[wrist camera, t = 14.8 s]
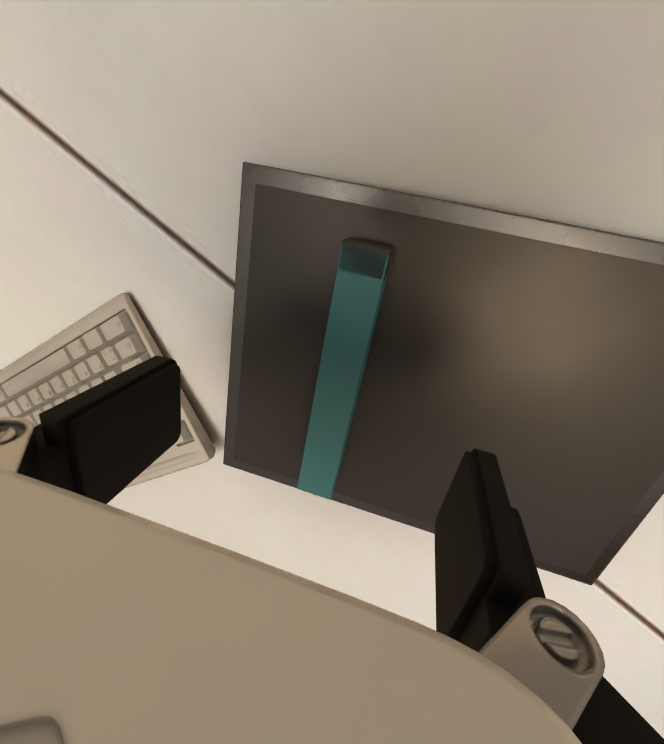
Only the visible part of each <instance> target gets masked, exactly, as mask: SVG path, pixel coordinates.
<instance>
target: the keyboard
mask: <svg viewBox="0 0 664 744" xmlns="http://www.w3.org/2000/svg"><path fill="white" fill-rule="evenodd" d="M157 355H158V356H162V357H163V355H162V353H161V352H160V350H159V348H158V346H157V345H156V343H155V341H154V339H153V337H152V336H151V334H150V332H149V330H148V329H147V327H146V325H145V323H144V321H143V320H142V318H141V316H140V314H139V313H138V311H137V309H136V307H135V306H134V304H133V302H132V300H131V298H130V296H129V295H128V294H126V293H122V294H120V295H118V296H117V297H115V298H114V299H112V300H111V301H109V302H108V303H106V304H104V305H103V306H101V307H100V308H98V309H97V310H95V311H93V312H92V313H90V314H89V315H87V316H86V317H84V318H83V319H81V320H79V321H78V322H76V323H75V324H73V325H72V326H70V327H68V328H67V329H65V330H64V331H62V332H61V333H59V334H58V335H56V336H54V337H53V338H51V339H50V340H48V341H47V342H45V343H44V344H42V345H40V346H39V347H37V348H36V349H34V350H33V351H31V352H29V353H28V354H26V355H25V356H23V357H22V358H20V359H19V360H17V361H15V362H14V363H12V364H11V365H9V366H8V367H6V368H4V369H3V370H1V371H0V417H14V416H15V417H22V418H25V419H28V420H30V421H31V422H32V423H33V425H34V427H35V426H37V425H39V424H41V423H40V418H39V414H40V413H42V412H44V411H46V410H48V409H50V408H52V407H54V406H56V405H58V404H60V403H62V402H64V401H66V400H68V399H70V398H72V397H74V396H76V395H78V394H80V393H82V392H84V391H86V390H88V389H90V388H92V387H94V386H96V385H98V384H100V383H102V382H104V381H106V380H108V379H110V378H112V377H114V376H116V375H118V374H120V373H122V372H124V371H126V370H128V369H130V368H132V367H134V366H136V365H138V364H140V363H142V362H144V361H146V360H148V359H150V358H152V357H154V356H157ZM214 454H215V448H214V446H213V444H212V442H211V440H210V439H209V437H208V435H207V433H206V432H205V430H204V428H203V426H202V424H201V423H200V421H199V419H198V417H197V416H196V414H195V412H194V410H193V408H192V407H191V405H190V403H189V401H188V400H187V398H186V396H185V394H184V392H183V391H182V389H181V435H180V437H179V439H178V441H177V442H176V443H175V444H174V445H173V446H172V447H170V448H169V449H168V450H167V451H166V452H165V453H164V454H162V455H161V456H160V457H159V458H158V459H157V460H156V461H155V462H153V463H152V464H151V465H150V466H149V467H148V468H147V469H146V470H144V471H143V472H142V473H141V474H140V475H139V476H138V477H136V478H135V479H134V480H133V481H132V482H131V483H130V484H129V485H127V486H126V487H130V486H133V485H136V484H139V483H142V482H145V481H148V480H151V479H154V478H158V477H161V476H164V475H167V474H170V473H173V472H176V471H179V470H183V469H186V468H189V467H192V466H195V465H198V464H201V463H204V462H207V461H209V460H210V459H211V458H212V457H214ZM126 487H125V488H126Z"/></svg>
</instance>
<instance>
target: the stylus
mask: <svg viewBox="0 0 664 744" xmlns="http://www.w3.org/2000/svg"><path fill="white" fill-rule="evenodd" d="M394 249H395V247H394V246H391V245H386V244H382V243H377V242H372V241H368V240H363V239H358V238H354V237H353V238H347V239H343V240H342V245H341V250H340V256H339V261H338V267H337V274H336V279H335V285H334V290H333V296H332V301H331V306H330V312H329V317H328V323H327V328H326V334H325V339H324V345H323V350H322V355H321V361H320V366H319V372H318V377H317V383H316V388H315V394H314V399H313V404H312V410H311V415H310V421H309V426H308V432H307V437H306V443H305V448H304V453H303V459H302V464H301V470H300V475H299V481H298V486H297V489H300V490H303V491H306V492H309V493H312V494H313V495H316V496H321V497H324V498H327V499H331V497H332V494H333V491H334V488H335V485H336V482H337V479H338V476H339V472H340V468H341V464H342V460H343V456H344V452H345V447H346V443H347V439H348V435H349V431H350V427H351V423H352V419H353V415H354V411H355V407H356V403H357V398H358V394H359V390H360V386H361V382H362V378H363V374H364V370H365V366H366V362H367V358H368V354H369V350H370V345H371V341H372V337H373V333H374V329H375V325H376V321H377V317H378V313H379V309H380V305H381V301H382V296H383V292H384V288H385V284H386V280H387V276H388V274H389V270H390V266H391V262H392V258H393V253H394Z"/></svg>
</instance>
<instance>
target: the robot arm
mask: <svg viewBox="0 0 664 744" xmlns="http://www.w3.org/2000/svg"><path fill="white" fill-rule="evenodd" d="M39 418H40V423H41V424H39V425H37V426H35V427H34V425H33V423H32V422H31V421H30V420H28V419H25V418H22V417H15V416H14V417H0V744H664V739H663V738H662V737H661V736H660V735H659V734H658V733H657V732H656V731H655V730H654V728H653V727H652V726H651V725H650V724H649V723H648V722H647V721H646V720H645V719H644V718H643V717H642V716H641V715H640V714H639V713H638V712H637V711H636V710H635V709H634V708H633V707H632V706H631V705H630V704H629V703H628V702H627V701H626V700H625V699H624V698H623V697H622V696H621V695H620V693H619V692H618V691H617V690H616V689H615V688H614V687H613V686H612V685H611V684H610V683H609V682H608V681H607V680H606V679H605V678H604V677H603V673H604V668H605V662H604V657H603V652H602V650H601V648H600V646H599V644H598V642H597V640H596V638H595V637H594V635H593V634H592V633H591V631H590V630H589V628H588V627H587V626H586V625H585V624H584V623H583V622H582V621H581V620H580V619H579V618H578V617H577V616H576V615H575V614H574V613H572V612H571V611H570V610H568V609H567V608H566V607H564V606H563V605H561V604H559V603H557V602H555V601H553V600H550V599H546V597H545V594H544V591H543V588H542V584H541V581H540V578H539V575H538V571H537V568H536V565H535V562H534V558H533V555H532V552H531V549H530V545H529V542H528V539H527V536H526V532H525V529H524V526H523V523H522V519H521V516H520V514H519V511H518V510H517V509H516V508H514V507H511V506H510V502H509V499H508V495H507V492H506V488H505V485H504V481H503V478H502V474H501V471H500V467H499V464H498V460H497V457H496V455H495V454H493V453H490V452H486V451H483V450H480V449H476V448H475V449H473V450H472V452H469V451H466V452H465V453H464V455H463V457H462V460H461V462H460V464H459V466H458V469H457V471H456V473H455V476H454V478H453V480H452V482H451V485H450V487H449V489H448V492H447V494H446V496H445V498H444V501H443V503H442V505H441V508H440V510H439V512H438V514H437V517H436V521H435V576H436V630H437V631H435V630H433V629H430V628H428V627H426V626H424V625H422V624H419V623H417V622H415V621H412V620H410V619H407V618H405V617H402V616H400V615H397V614H395V613H392V612H390V611H387V610H385V609H382V608H380V607H377V606H375V605H372V604H370V603H367V602H365V601H362V600H360V599H357V598H355V597H352V596H350V595H347V594H344V593H342V592H339V591H337V590H334V589H331V588H329V587H326V586H323V585H321V584H318V583H315V582H313V581H310V580H308V579H305V578H302V577H300V576H297V575H294V574H292V573H289V572H287V571H284V570H281V569H279V568H276V567H273V566H271V565H268V564H266V563H263V562H260V561H258V560H255V559H252V558H250V557H247V556H244V555H242V554H239V553H236V552H234V551H231V550H228V549H226V548H223V547H220V546H218V545H215V544H212V543H210V542H207V541H204V540H202V539H199V538H196V537H194V536H191V535H188V534H185V533H183V532H180V531H177V530H175V529H172V528H169V527H167V526H164V525H161V524H159V523H156V522H153V521H151V520H148V519H145V518H142V517H140V516H137V515H134V514H131V513H129V512H126V511H123V510H120V509H118V508H115V507H112V506H110V505H107V503H108V502H109V501H110V500H112V499H113V498H114V497H115V496H116V495H117V494H118V493H120V492H121V491H122V490H123V489H124V488H125V487H126V486H127V485H129V484H130V483H131V482H132V481H133V480H134V479H135V478H136V477H138V476H139V475H140V474H141V473H142V472H143V471H144V470H146V469H147V468H148V467H149V466H150V465H151V464H152V463H153V462H155V461H156V460H157V459H158V458H159V457H160V456H161V455H162V454H164V453H165V452H166V451H167V450H168V449H169V448H170V447H172V446H173V445H174V444H175V443H176V442H177V441H178V439H179V437H180V435H181V380H180V367H179V366H178V365H177V363H176V361H175V360H172V359H169V358H166V357H162V356H158V355H157V356H154V357H152V358H150V359H148V360H146V361H144V362H142V363H140V364H138V365H136V366H134V367H132V368H130V369H128V370H126V371H124V372H122V373H120V374H118V375H116V376H114V377H112V378H110V379H108V380H106V381H104V382H102V383H100V384H98V385H96V386H94V387H92V388H90V389H88V390H86V391H84V392H82V393H80V394H78V395H76V396H74V397H72V398H70V399H68V400H66V401H64V402H62V403H60V404H58V405H56V406H54V407H52V408H50V409H48V410H46V411H44V412H42V413H40V414H39Z"/></svg>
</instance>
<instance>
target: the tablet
mask: <svg viewBox="0 0 664 744" xmlns="http://www.w3.org/2000/svg"><path fill="white" fill-rule="evenodd" d="M353 237H354V238H358V239H363V240H368V241H372V242H377V243H382V244H386V245H391V246H394V247H395V249H394V253H393V258H392V262H391V266H390V270H389V274H388V276H387V280H386V284H385V288H384V292H383V296H382V301H381V305H380V309H379V313H378V317H377V321H376V325H375V329H374V333H373V337H372V341H371V345H370V350H369V354H368V358H367V362H366V366H365V370H364V374H363V378H362V382H361V386H360V390H359V394H358V398H357V403H356V407H355V411H354V415H353V419H352V423H351V427H350V431H349V435H348V439H347V443H346V447H345V452H344V456H343V460H342V464H341V468H340V472H339V476H338V479H337V482H336V485H335V488H334V491H333V494H332V497H331V500H334V501H337V502H340V503H343V504H346V505H349V506H352V507H355V508H358V509H362V510H365V511H368V512H371V513H374V514H377V515H380V516H383V517H386V518H389V519H392V520H395V521H398V522H401V523H404V524H407V525H410V526H413V527H416V528H419V529H422V530H425V531H428V532H431V533H434V534H435V521H436V517H437V514H438V512H439V510H440V508H441V505H442V503H443V501H444V498H445V496H446V494H447V492H448V489H449V487H450V485H451V482H452V480H453V478H454V476H455V473H456V471H457V469H458V466H459V464H460V462H461V460H462V457H463V455H464V453H465V452H466V451H469V452H472V450H473V449H475V448H476V449H480V450H483V451H486V452H490V453H493V454H495V455H496V457H497V460H498V464H499V467H500V471H501V474H502V478H503V481H504V485H505V488H506V492H507V495H508V499H509V502H510V506H511V507H514V508H516V509H517V510H518V511H519V514H520V516H521V519H522V523H523V526H524V529H525V532H526V536H527V539H528V542H529V545H530V549H531V552H532V555H533V558H534V562H535V565H536V567H537V568H540V569H543V570H546V571H549V572H552V573H555V574H558V575H561V576H564V577H567V578H570V579H573V580H576V581H580V582H583V583H586V584H589V585H593V583H594V582H595V581H596V579H597V578H598V577H599V576H600V574H601V573H602V572H603V570H604V569H605V568H606V567H607V565H608V564H609V563H610V561H611V560H612V559H613V558H614V556H615V555H616V554H617V553H618V551H619V550H620V549H621V547H622V546H623V545H624V544H625V542H626V541H627V540H628V538H629V537H630V536H631V535H632V533H633V532H634V531H635V530H636V528H637V527H638V526H639V524H640V523H641V522H642V521H643V519H644V518H645V517H646V515H647V514H648V513H649V512H650V510H651V509H652V508H653V506H654V505H655V504H656V503H657V501H658V500H659V499H660V498H661V496H662V495H663V494H664V243H663V242H658V241H653V240H648V239H643V238H637V237H632V236H627V235H622V234H617V233H611V232H606V231H601V230H596V229H591V228H585V227H580V226H575V225H570V224H565V223H559V222H554V221H549V220H544V219H539V218H534V217H528V216H523V215H518V214H513V213H508V212H502V211H497V210H492V209H487V208H482V207H476V206H471V205H466V204H461V203H456V202H450V201H445V200H440V199H435V198H430V197H425V196H419V195H414V194H409V193H404V192H399V191H393V190H388V189H383V188H378V187H373V186H367V185H362V184H357V183H352V182H347V181H341V180H336V179H331V178H326V177H321V176H316V175H310V174H305V173H300V172H295V171H290V170H284V169H279V168H274V167H269V166H264V165H258V164H253V163H248V162H243V170H242V186H241V201H240V216H239V232H238V247H237V262H236V278H235V293H234V308H233V323H232V339H231V354H230V369H229V385H228V400H227V415H226V431H225V446H224V461H223V463H224V464H225V465H228V466H231V467H234V468H237V469H240V470H243V471H246V472H249V473H253V474H256V475H259V476H262V477H265V478H268V479H271V480H274V481H277V482H280V483H283V484H286V485H289V486H292V487H295V488H297V486H298V481H299V475H300V470H301V464H302V459H303V453H304V448H305V443H306V437H307V432H308V426H309V421H310V415H311V410H312V404H313V399H314V394H315V388H316V383H317V377H318V372H319V366H320V361H321V355H322V350H323V345H324V339H325V334H326V328H327V323H328V317H329V312H330V306H331V301H332V296H333V290H334V285H335V279H336V274H337V267H338V261H339V256H340V250H341V245H342V240H343V239H347V238H353Z"/></svg>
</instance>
